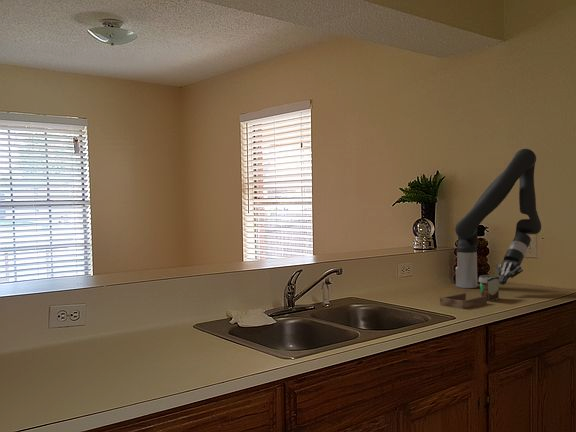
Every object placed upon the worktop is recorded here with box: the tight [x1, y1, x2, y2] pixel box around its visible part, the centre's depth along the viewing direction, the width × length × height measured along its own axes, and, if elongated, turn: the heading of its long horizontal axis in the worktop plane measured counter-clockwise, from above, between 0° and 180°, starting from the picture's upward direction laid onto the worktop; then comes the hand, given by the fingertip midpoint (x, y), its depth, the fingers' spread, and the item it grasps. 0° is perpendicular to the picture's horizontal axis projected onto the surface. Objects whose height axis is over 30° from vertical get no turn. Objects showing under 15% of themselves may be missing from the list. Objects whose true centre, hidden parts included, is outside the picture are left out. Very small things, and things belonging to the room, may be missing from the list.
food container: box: [477, 274, 500, 302], centre depth 229 cm, size 12×6×10 cm, turn 134°
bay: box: [439, 292, 488, 310], centre depth 220 cm, size 11×16×3 cm
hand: (501, 283), depth 236 cm, fingers closed
